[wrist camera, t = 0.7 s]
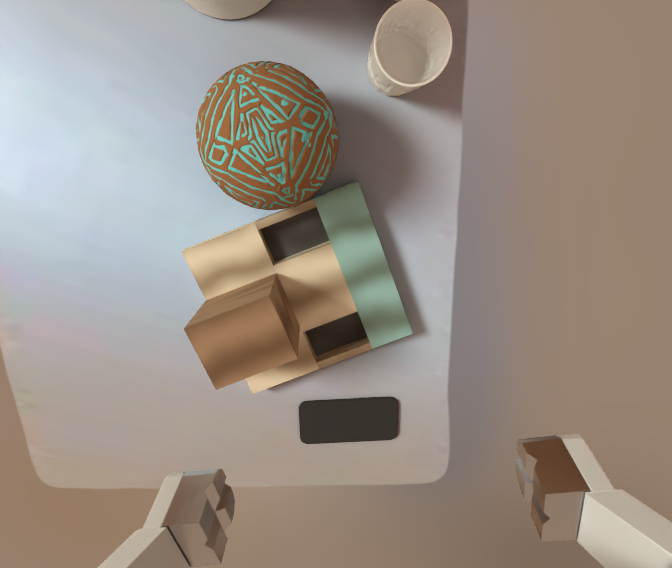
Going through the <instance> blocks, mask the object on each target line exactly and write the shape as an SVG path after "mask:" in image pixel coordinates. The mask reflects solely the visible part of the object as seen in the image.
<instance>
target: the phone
mask: <svg viewBox="0 0 672 568" xmlns="http://www.w3.org/2000/svg"><path fill="white" fill-rule="evenodd" d="M299 422H300V438H301V441H302V442H303V443H306V444H318V443H338V442H359V441H380V440H392V439H394V438H395V437H396V436H397V430H398V403H397V400H396V399H395V398H394V397H369V398H354V399H334V400H313V401H304V402H302V403H301V404H300V406H299Z"/></svg>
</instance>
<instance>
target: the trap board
mask: <svg viewBox="0 0 672 568" xmlns="http://www.w3.org/2000/svg"><path fill="white" fill-rule="evenodd" d="M182 254H183V256H184V258H185V260H186V262H187V264H188V266H189V267H190V269H191V271H192V273H193V275H194V277H195V279H196V281H197V283H198V285H199V287H200V289H201V291H202V293H203V295H204V297H205V299H206V300H208V299H211V298H213V297H216V296H218V295H221V294H224V293H226V292H229V291H231V290H234V289H236V288H239V287H242V286H244V285H247V284H249V283H252V282H254V281H257V280H259V279H262V278H265V277H267V276H270V275H272V274H275V273H277V275H278V278H279V280H280V282H281V284H282V287H283V289H284V291H285V293H286V296H287V298H288V300H289V302H290V305H291V307H292V309H293V311H294V314H295V316H296V318H297V321H298V323H299V325H300V332H299V347H298V359H296V360H293V361H290V362H288V363H285V364H282V365H280V366H277V367H274V368H272V369H269V370H267V371H264V372H261V373H259V374H256V375H253V376H251V377H248V378H245V379H246V381H247V383H248V385H249V387H250V389H251V391H252V393H253V394H254V393H257V392H260V391H262V390H265V389H267V388H270V387H273V386H275V385H278V384H281V383H283V382H286V381H289V380H291V379H294V378H297V377H299V376H302V375H305V374H307V373H310V372H313V371H315V370H318V369H321V368H323V367H326V366H328V365H331V364H334V363H336V362H339V361H342V360H344V359H347V358H350V357H352V356H355V355H358V354H360V353H363V352H366V351H368V350H371V349H374V348H376V347H379V346H381V345H384V344H387V343H389V342H392V341H395V340H397V339H400V338H403V337H405V336H408V335H411V334H413V333H412V330H411V327H410V324H409V322H408V319H407V316H406V313H405V310H404V308H403V305H402V302H401V299H400V297H399V294H398V291H397V288H396V285H395V283H394V280H393V277H392V274H391V271H390V269H389V266H388V263H387V260H386V257H385V255H384V252H383V249H382V246H381V243H380V241H379V238H378V235H377V232H376V229H375V227H374V224H373V221H372V218H371V215H370V213H369V210H368V207H367V204H366V201H365V199H364V196H363V193H362V190H361V187H360V185H359V182H358V181H354V182H352V183H349V184H347V185H344V186H342V187H339V188H337V189H334V190H332V191H329V192H327V193H324V194H322V195H319V196H317V197H314V198H312V199H309V200H307V201H304V202H302V203H299V204H297V205H295V206H292V207H289V208H286V209H284V210H281V211H279V212H276V213H274V214H271V215H269V216H266V217H264V218H261V219H259V220H256V221H254V222H251V223H249V224H246V225H244V226H241V227H239V228H236V229H234V230H231V231H229V232H226V233H224V234H221V235H219V236H216V237H213V238H211V239H208V240H206V241H203V242H201V243H198V244H196V245H193V246H191V247H188V248H186V249H185V250H183V251H182Z"/></svg>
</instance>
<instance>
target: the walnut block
mask: <svg viewBox="0 0 672 568" xmlns="http://www.w3.org/2000/svg"><path fill="white" fill-rule="evenodd" d="M184 330H185V332H186V334H187V336H188V338H189V340H190V342H191V343H192V345H193V347H194V349H195V351H196V353H197V355H198V357H199V358H200V360H201V362H202V364H203V366H204V368H205V370H206V372H207V374H208V375H209V377H210V379H211V381H212V383H213V385H214V387H215V389H216V390H217V389H219V388H222V387H224V386H227V385H230V384H232V383H235V382H238V381H240V380H243V379H245V378H248V377H251V376H253V375H256V374H259V373H261V372H264V371H267V370H269V369H272V368H274V367H277V366H280V365H282V364H285V363H288V362H290V361H293V360H296V359H298V347H299V332H300V325H299V323H298V321H297V318H296V316H295V314H294V311H293V309H292V307H291V305H290V302H289V300H288V298H287V296H286V293H285V291H284V289H283V287H282V284H281V282H280V280H279V278H278V275H277V273H275V274H272V275H270V276H267V277H265V278H262V279H259V280H257V281H254V282H252V283H249V284H247V285H244V286H242V287H239V288H236V289H234V290H231V291H229V292H226V293H224V294H221V295H218V296H216V297H213V298H211V299H208V300H206V301H205V302H204V304H203V305H202V306H201V307H200V309H199V310H198V311H197V313H196V314H195V315H194V316H193V318H192V319H191V320H190V322H189V323H188V324H187V325H186V327H185V328H184Z"/></svg>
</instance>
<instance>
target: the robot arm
mask: <svg viewBox="0 0 672 568" xmlns="http://www.w3.org/2000/svg"><path fill="white" fill-rule="evenodd" d="M184 1H185V2H187V3H188V4H189V5H190V6H192V7H193V8H195V9H196V10H198V11H200V12H202V13H204V14H206V15H208V16H211V17H215V18H219V19H239V18H244V17H247V16H250V15H252V14H254V13H256V12H258V11H259V10H261V9H262V8H264V7H265V6H266V5H267V4H268V3H269V2H270V1H271V0H184ZM516 449H517V452H518V454H519V456H520V457H519V458H518V459H517V460H516V473H517V479H518V483H519V486H520V490H521V492H522V495H523V497H524V499H525V500H526V501H528V502H529V503H530V504H531V517H532V520H533V522H534V525H535V527H536V529H537V532H538V534H539V537H540V539H541V541H557V540H578V542H579V543H580V544H581V545H582V546H583V547H584V548H585V549H586V550H587V551H588V552H589V553H590V554H591V555H592V556H593V557H594V558H595V559H596V560H597V561H599V562H600V563H601V564H602V565H603V566H604V567H605V568H672V522H670V521H669V520H667V519H666V518H664V517H663V516H661V515H660V514H658V513H657V512H655V511H654V510H652V509H651V508H649V507H648V506H646V505H645V504H643V503H642V502H640V501H639V500H637V499H636V498H634V497H633V496H631V495H630V494H628V493H627V492H625V491H624V490H622V489H619V490H615V488H614V486H613V485H612V483H611V482H610V480H609V479H608V477H607V475H606V474H605V473H604V471H603V469H602V468H601V466H600V464H599V463H598V461H597V460H596V458H595V456H594V455H593V454H592V452H591V450H590V449H589V447H588V445H587V444H586V442H585V441H584V439H583V437H582V436H580V435H579V434H569V435H559V436H546V437H537V438H528V439H519V440H518V441H517V448H516ZM225 479H226V475H225V473H224V471H223V470H222V469H216V470H201V471H186V472H175V473H169V474H168V476H167V477H166V478H165V479H164V482H163V484H162V486H161V488H160V491H159V493H158V495H157V497H156V499H155V502H154V504H153V507H152V509H151V511H150V513H149V515H148V518H147V520H146V522H145V525H144V526H143V529H137V530H136V531H135V532H134V533H133V534H132V535H131V536H130V537H129V538H128V539H127V540H126V541H125V542H124V543H123V544H122V545H121V546H120V547H119V548H117V550H115V551H114V552H113V553H112V554H111V555H110V556H109V557H108V558H107V559H106V560H105V561H104V562H103V563H102V564H101V565H100V566H99V567H98V568H190V567H199V566H208V565H217V564H221V562H222V558H223V554H224V551H225V547H226V543H227V537H226V534H225V532H224V531H225V530H226V529H227V527H228V526H229V525H230V524H231V523H232V519H233V515H234V503H235V500H234V495H233V491H232V489H231V487H230V486H228V485H227V484H225Z"/></svg>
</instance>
